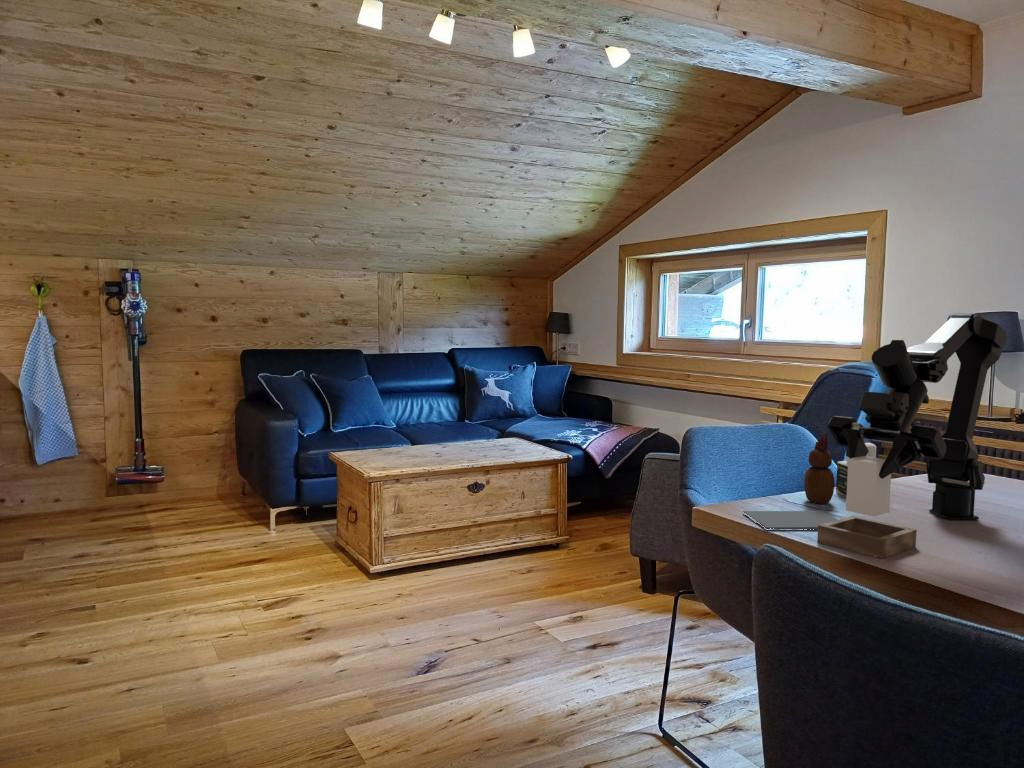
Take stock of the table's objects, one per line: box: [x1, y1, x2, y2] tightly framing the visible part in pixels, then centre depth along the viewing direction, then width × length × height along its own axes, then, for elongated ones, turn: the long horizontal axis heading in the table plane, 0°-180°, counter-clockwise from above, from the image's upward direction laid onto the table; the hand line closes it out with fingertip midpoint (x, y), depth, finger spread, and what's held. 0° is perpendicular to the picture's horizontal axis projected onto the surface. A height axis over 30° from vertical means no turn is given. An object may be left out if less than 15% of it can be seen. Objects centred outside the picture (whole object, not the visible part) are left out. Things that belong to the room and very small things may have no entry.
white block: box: [845, 456, 892, 517], centre depth 132 cm, size 5×5×9 cm
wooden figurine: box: [803, 433, 835, 505], centre depth 163 cm, size 7×6×15 cm
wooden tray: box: [816, 515, 918, 559], centre depth 133 cm, size 11×11×3 cm
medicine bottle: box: [835, 441, 877, 498], centre depth 170 cm, size 7×7×12 cm
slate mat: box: [742, 510, 839, 531], centre depth 147 cm, size 16×12×1 cm
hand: (865, 474), depth 131 cm, fingers closed on white block, 5 cm apart
